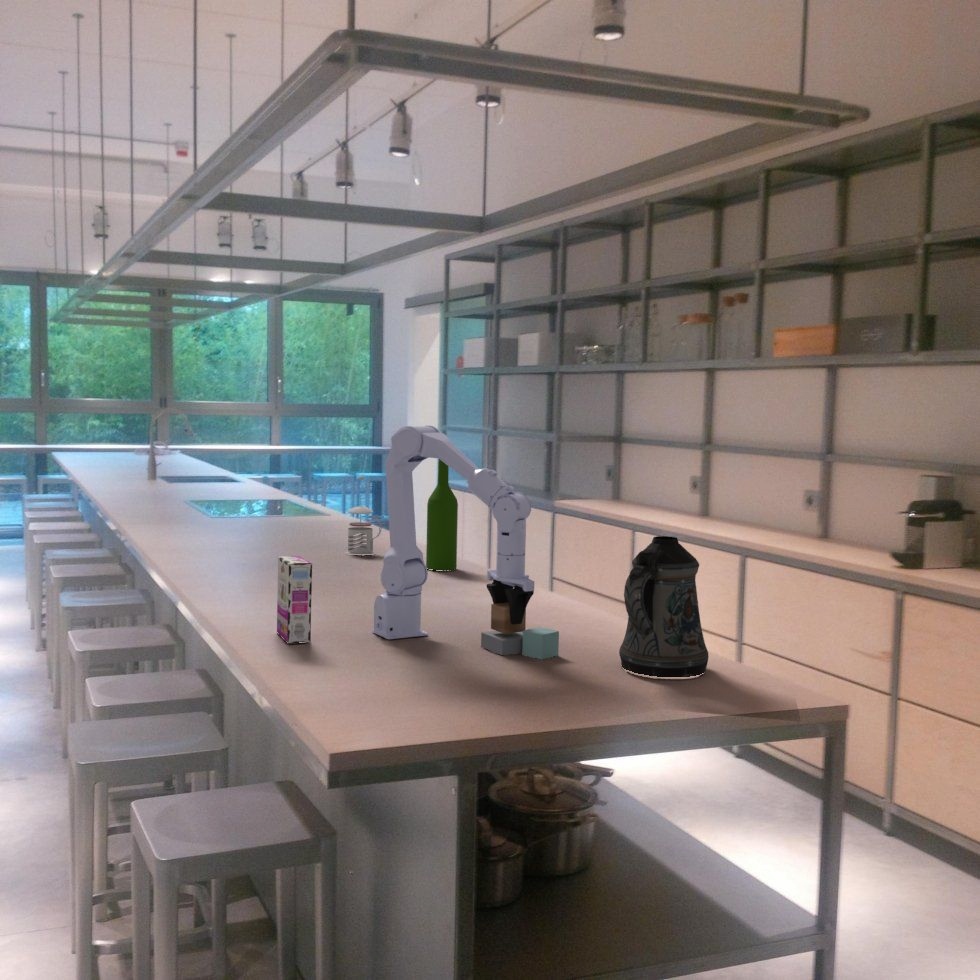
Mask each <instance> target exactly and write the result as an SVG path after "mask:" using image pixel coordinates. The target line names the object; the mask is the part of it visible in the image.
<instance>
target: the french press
mask: <svg viewBox="0 0 980 980" xmlns="http://www.w3.org/2000/svg"><path fill="white" fill-rule="evenodd" d="M357 480H358V481H359V480H360V481H363V480H365V477H364V476H363V475H359V476H358V478H357ZM359 499H360V505H358V506H354V507H352V508H350V509H348V510H347V513H348V514H352V515H359V519H360V520H359V522H350V523H349V524H348V525H349V526H351V527H348V529H347V530H348V531H347V533H348V534H347V551H345V553H350V554H373V553H375V551H374V539H377V538H378V537H379V536H380V534H381V533H382V526H383V525H382V522H381V520H380V519H379V518H378V517H377V516H376V515H372V514H373V513H374V510H373V509H371V508H370V507H367V506H363V505H362V497H360V498H359ZM362 515H372V516H371V519H370V521H373V520H374V519H375V520H376V521H377V522H378V526H379V530H378V532H377V535H376V536H375V537H373V532H374V531H373V528H372V523H371V522H362ZM370 526H371V527H370ZM365 543H366V544H365Z"/></svg>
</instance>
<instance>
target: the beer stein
mask: <svg viewBox="0 0 980 980" xmlns="http://www.w3.org/2000/svg"><path fill="white" fill-rule="evenodd" d="M631 565H632V568H631V570H630V572H629V575H628V576H627V579H626V580H625V584H624V591H623V597H624V605H625V609H626V612H627V616H628V618H627V623H626V624H627V625H626V630H625V635H624V636H623V637H624V639H622V640H623V641H622V643H621V645H620V647H619V652H618V654H619V658H620V663H621V665H622V666H621V668H622V667H623V668H624V669H626V670H629V671H632V672H634V673H638V674H644V675H649V676H657V677H690V676H696V675H700V674H702V673H704V672H705V673H706V670H707V666H708V661H709V651H708V648H707V645H706V643H705V639H704V633H703V629H702V623H701V616H700V609H699V600H698V592H697V584H696V581H697V580H696V576H697V574H698V572H699V568H700V563H699V561H698V560H697V558H696V557H695V556H694V555H693V554H692V553H691V552H689V551H688V550H687V549H686V548H685V547H684V546H683V545H682V544H681V543H680V542H679V539H678V537H676V536H664V535H663V536H661V535H660V536H659V535H658V536H657V535H656V536H653V537H652V540H651V542H650V543H649V544H648V545H647V546H646V547H645V548H644V549H643V550H640V551H639V552H638V554H637V555H635V557H634V558H633V559H632V561H631Z"/></svg>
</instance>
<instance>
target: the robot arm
mask: <svg viewBox="0 0 980 980" xmlns="http://www.w3.org/2000/svg"><path fill="white" fill-rule="evenodd" d="M390 441H391V447H390V450H389V452H388V455H387V458H386V461H385V477H386V493H387V494H386V495H387V510H388V511H387V512H388V513H387V514H388V527H389V544H390V545H389V546H390V547H389V548H388V550H387V552H386V553H385V555H384V557H383V566H382V570H381V572H380V582H381V585H382V586H383V589H385V593H383V594H379V595H377V596H376V597H375V598H374V599H375V600H374V603H373V604H374V606H373V608H374V609H373V629H372V632H371V633H374V634H375V635H378V636H380V637H382V638H384V639H386V640H396V639H398V640H399V639H405V638H415V637H423V636H424V637H425V636H429V633H428V631H424V630H421V627H422V626H421V625H422V624H421V623H422V621H421V619H422V617H421V615H422V591H423V585H425V584H426V582H427V580H428V578H429V577H428V576H429V574H428V573H429V570H427V567H426V563H425V561H424V553H423V551H422V550H421V549H420V548H419V547H418V545H417V533H416V515H415V502H414V501H415V498H414V482H413V481H414V480H413V471H414V470H415V469H416V468H417V467H418V466H419V465H420V464H421V463H422V462H423V461H425V460H426V459H428V458H431V459H437V460H438V459H440V460H441V461H443V462H444V463H445V464H446V465H448V466H449V468H451V469H452V471H454V472H456V474H458V475H460V477H462V478H463V479H465V480H466V481H467V485H468V490H469V491H470V493H472V494H473V495H474V496H475V497H476V498H478V499H479V500H480V501H481V502H482V503H483V504H485V505H486V507H488V508H489V509H490V510H491V512H492V516H493V518H494V519H495V521H496V529H497V530H496V559H495V560H496V561H495V563H496V565H495V568H496V569H491V570H489V569H488V570H487V576H486V577H487V578H486V579H487V580H488V581H492V583H487V584H486V589H487V590H488V592H489V594H490V595H489V596H490V597H491V600H492V604H498V603H509V608H510V620H511V624H513V625H514V624H521V623H522V620H523V616H524V613H525V609H526V610H527V606H528V604H529V602H530V600H531V598H532V597H533V595H534V593H535V580H532V579H530V575H529V574H527V573H526V570H525V569H526V542H527V540H526V539H527V537H526V536H527V535H526V534H527V518H528V517H529V516H530V515H531V512H532V503H531V501H530V499H529V498H528V496H527V495H526V494H525V493H524V492H522V491H514V489H515V487H513V486H512V485H507V483H506V482H504V481H503V480H502V479H501V478H500V477H498V476H497V475H498V472H497V471H496V470H494V469H489V468H488V467H487V468H486V467H484V468H479V467H478V466H477V465H476V464H475V463H474V462H473V461H472V460H470V458H468V457H467V456H466V454H464V453H463V451H461V450H460V449H459V448H458V447H457V446H456V445H455V444H454V443H452V441H450V439H449V437H448V436H447V434H445V433H443V431H442V432H441V431H440V430H439V429H438V428H437V427H435V426H433V425H425V426H422V425H420V426H413V425H404V426H402V427H400V428H399V429H398V430H397V431H396V432H395V433H394V434H393V435H392V436H391V439H390Z"/></svg>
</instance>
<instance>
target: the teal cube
mask: <svg viewBox="0 0 980 980" xmlns="http://www.w3.org/2000/svg"><path fill="white" fill-rule="evenodd" d="M559 642H560V632H559V631H558V630H555V629H551V628H545V627H541V626H538V627H533V628H529V629H525V630H523V648H522V653H521V655H522V656H523V655H526V656H525V657H527V656H529V657H528V658H531V657H533V659H535V658H538V659H537V660H539V659H544V660H546V659H545V658H548V659H550V658H549V657H552V658H554V657H553V656H556V657H558V656H559V646H560V645H559V644H560V643H559ZM557 655H558V656H557Z"/></svg>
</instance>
